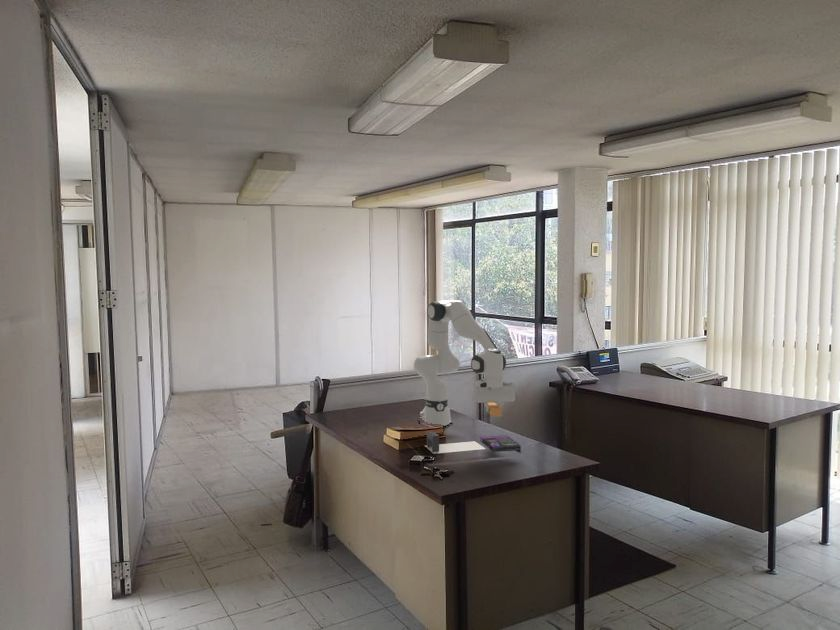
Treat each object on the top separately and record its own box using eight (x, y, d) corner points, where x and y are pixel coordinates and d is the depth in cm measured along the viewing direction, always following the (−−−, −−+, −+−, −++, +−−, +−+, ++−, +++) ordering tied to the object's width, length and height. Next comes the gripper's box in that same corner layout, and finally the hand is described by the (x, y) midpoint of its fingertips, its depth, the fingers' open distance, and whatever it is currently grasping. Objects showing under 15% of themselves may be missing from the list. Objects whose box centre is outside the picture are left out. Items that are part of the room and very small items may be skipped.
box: (480, 443, 304) (492, 454, 285) (480, 436, 304) (492, 446, 285) (506, 441, 307) (521, 452, 288) (506, 434, 307) (520, 444, 288)
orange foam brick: (493, 416, 287) (493, 408, 286) (486, 410, 301) (486, 402, 300) (501, 416, 287) (501, 408, 287) (494, 410, 301) (494, 402, 301)
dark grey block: (426, 446, 292) (426, 431, 292) (432, 445, 293) (432, 430, 292) (432, 451, 283) (432, 436, 283) (439, 451, 284) (439, 435, 283)
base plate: (424, 447, 294) (424, 445, 294) (474, 443, 302) (474, 441, 302) (433, 455, 281) (433, 453, 281) (486, 451, 288) (486, 448, 288)
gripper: (513, 381, 298) (512, 409, 298) (471, 382, 295) (471, 410, 296) (516, 383, 291) (516, 411, 292) (474, 384, 289) (474, 413, 289)
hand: (493, 411), depth 294 cm, fingers closed on orange foam brick, 4 cm apart
